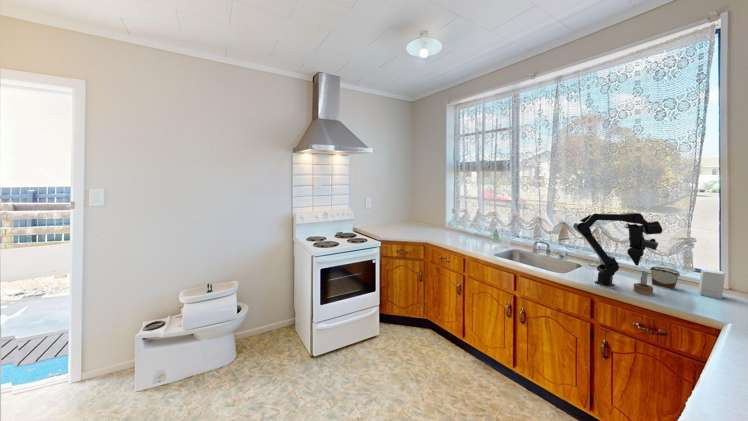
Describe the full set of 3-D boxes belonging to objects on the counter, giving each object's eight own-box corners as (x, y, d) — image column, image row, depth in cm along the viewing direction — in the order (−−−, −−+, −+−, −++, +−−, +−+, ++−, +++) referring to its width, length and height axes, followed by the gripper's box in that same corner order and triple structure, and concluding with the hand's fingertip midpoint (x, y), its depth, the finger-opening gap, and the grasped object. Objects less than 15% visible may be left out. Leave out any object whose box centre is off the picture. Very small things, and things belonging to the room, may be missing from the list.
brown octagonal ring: (644, 294, 148) (645, 288, 148) (630, 289, 155) (630, 283, 154) (655, 294, 149) (656, 287, 149) (641, 289, 156) (641, 282, 156)
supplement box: (722, 299, 143) (725, 274, 142) (700, 295, 148) (702, 271, 147) (719, 295, 148) (722, 271, 147) (698, 291, 154) (700, 268, 152)
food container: (683, 289, 156) (685, 271, 155) (677, 291, 154) (679, 272, 153) (654, 282, 167) (656, 265, 167) (648, 283, 165) (650, 266, 164)
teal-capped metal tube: (643, 292, 151) (645, 272, 150) (638, 291, 153) (640, 270, 152) (647, 292, 151) (649, 272, 150) (642, 291, 153) (644, 270, 152)
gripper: (655, 239, 146) (657, 269, 147) (657, 231, 158) (659, 259, 160) (626, 239, 154) (628, 267, 155) (630, 231, 167) (632, 257, 168)
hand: (637, 263), depth 159 cm, fingers open, 9 cm apart
